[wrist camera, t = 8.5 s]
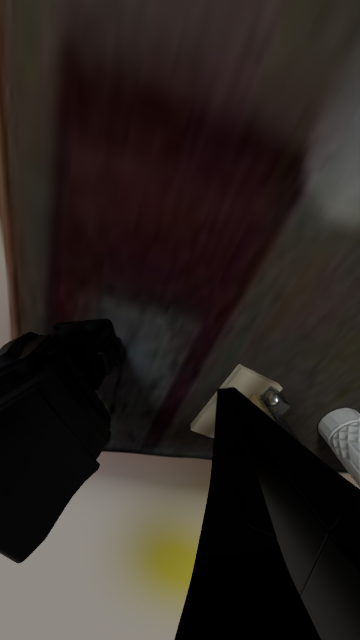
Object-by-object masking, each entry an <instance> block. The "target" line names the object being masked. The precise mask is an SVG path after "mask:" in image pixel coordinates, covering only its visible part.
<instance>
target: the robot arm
mask: <svg viewBox="0 0 360 640" xmlns="http://www.w3.org/2000/svg"><path fill="white" fill-rule="evenodd" d="M104 322H107V325H106V324H104ZM57 327H59V329H58V328H57ZM52 328H53V331H54V333H52V334H47V335H43V336H42V335H38V334H35V333H33V332H28V333H25V334H23V335H21V336H19V337H17V338H15V339H13V340H12V341H10V342H8V343H7V344H5V345H4V346H3V347H2V348H1V349H0V553H1V554H3V555H4V556H6V557H8V558H9V559H11V560H13V561H14V562H16V563H21V562H23V561H24V560H25V559H26V558H27V557H28V556H29V555H30V554H31V553H32V552H33V551H34V550H35V549H36V548H37V547H38V546H39V545H40V544H41V543H42V542H43V541H44V540H45V538H46V537H47V535H48V534H49V532H50V531H51V529H52V528H53V526H54V524H55V522H56V521H57V520H58V518H59V516H60V515H61V513H62V512H63V510H64V508H65V507H66V505H67V504H68V502H69V501H70V499H71V498H72V496H73V495H74V494H75V493H76V491H77V490H78V489H79V488H80V486H82V484H83V483H84V482H85V481H86V480H87V479H88V478H89V477H90V476H91V475H92V474H93V473H94V472H96V471H97V470H98V468H99V466H100V464H99V463H98V462H97V461H96V459H97V458H98V456H99V455H100V453H101V452H102V450H103V448H104V447H105V445H106V443H107V441H108V439H109V437H110V434H111V432H110V430H109V429H110V420H111V418H110V415H109V412H108V410H107V409H106V407H105V406H104V404H103V402H102V401H101V400H100V398H99V397H98V395H97V394H96V392H95V391H94V390H98V389H99V387H100V385H101V383H102V381H103V380H104V378H105V376H107V375H109V374H110V373H111V371H112V369H113V367H118V366H119V365H120V358H119V355H120V350H119V346H118V342H117V338H116V336H115V335H114V334H113V330H112V326H111V322H110V320H109V319H97V320H86V321H76V322H66V323H57V324H55V325H54V326H53V327H52ZM116 362H117V363H118V364H116ZM175 640H360V489H359V488H357V487H355V486H354V485H353V484H352V483H350V482H349V481H347V480H346V479H345V478H344V477H342V476H341V475H340V474H339V473H337V472H336V471H335V470H333V469H332V468H331V467H329V466H328V465H327V464H326V463H325V462H323V461H322V460H321V459H320V458H318V457H317V456H316V455H315V454H313V453H312V452H311V451H310V450H309V449H308V448H306V447H305V446H304V445H303V446H302V444H301V443H300V442H299V441H298V440H297V439H296V438H294V437H293V436H292V435H291V434H290V433H288V432H287V431H286V430H285V429H284V428H283V427H281V426H280V425H279V424H278V423H277V422H275V421H274V420H273V419H272V418H271V417H269V416H268V415H267V414H266V413H265V412H264V411H262V410H261V409H260V408H259V407H258V406H256V405H255V404H254V403H253V402H252V401H251V400H249V399H248V398H247V397H246V396H245V395H243V394H242V393H241V392H240V391H239V390H237V389H236V388H235V387H228V388H219V389H217V402H216V416H215V430H214V444H213V457H212V469H211V479H210V486H209V492H208V498H207V504H206V509H205V514H204V519H203V524H202V530H201V534H200V539H199V544H198V549H197V554H196V559H195V564H194V569H193V573H192V577H191V582H190V585H189V589H188V593H187V597H186V600H185V604H184V608H183V612H182V615H181V618H180V622H179V625H178V629H177V633H176V636H175Z"/></svg>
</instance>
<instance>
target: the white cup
mask: <svg viewBox="0 0 360 640" xmlns="http://www.w3.org/2000/svg"><path fill="white" fill-rule="evenodd" d="M318 430H319V433H320V434H321V436H322V437H323V438H324V439H325V441H326V442H327V443H328V445H329V446H330V447H331V449H332V450H333V452H334V454H335V455H336V456H337V458H338V459H339V460H340V462H341V463H342V464H343V466H344V467H345V468H346V470H347V471H348V473H349V474H350V475H351V476H352V478H353V479H354V480H355V481H356V483H357V484H358V485H359V487H360V414H359V413H358V412H357V411H356V410H354V409H350V408H341V409H336V410H334V411H332V412H330V413H328V414H327V415H326V416H324V417H323V418H322V419H321V421H320V423H319V425H318Z"/></svg>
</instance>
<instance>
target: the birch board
mask: <svg viewBox="0 0 360 640" xmlns="http://www.w3.org/2000/svg"><path fill="white" fill-rule="evenodd" d="M270 386H272V387H274V388H276V389H278V391H279V392H280V391H281V390H282V389H283V388H282V387H281V386H280V385H279V384H278V383H276V382H274V381H272V380H270V379H268V378H266V377H264V376H262V375H260V374H258V373H256V372H254V371H252V370H250V369H248V368H246V367H244V366H242V365H240V364H238V366H237V367H236V368H235V369H234V371H233V372H232V373H231V374H230V376H229V377H228V378H227V379H226V381H225V382H224V383H223V384H222V385H221V387H220V388H228V387H235V388H236V389H237V390H239V391H240V392H241V393H242V394H243V395H245V396H246V397H247V398H248V399H250V398H251V396H252V395H253V394H257V395H259V396H260V395H261V394H263V393H264V392H265V391H266V390H267V389H268V388H269V387H270ZM216 402H217V392H216V393H215V394H214V395H213V397H212V398H211V399H210V400H209V402H208V403H207V404H206V405H205V407H204V408H203V409H202V410H201V412H200V413H199V414H198V415H197V417H196V418H195V419H194V420H193V422H192V423H191V424H190V425H191V430H192V431H194V432H197V433H200V434H203V435H205V436H208V437H211V438H214V430H215V416H216Z"/></svg>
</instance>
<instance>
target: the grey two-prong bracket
mask: <svg viewBox="0 0 360 640" xmlns="http://www.w3.org/2000/svg"><path fill="white" fill-rule="evenodd" d="M260 397H261V399H262V400H263V402H264V404H265V405H266V407H267V408H268V410H269V412H270V413H271V415H272V416H273V418H274V420H275V421H276V422H277V423H278V424H279V425H280V426H281V427H283V428H284V429H285V430H286V431H287V432H288V433H290V434H291V435H292V436H293V437H294V438H296V439H297V437H296V436H295V434H294V433H293V431H292V430H291V428H290V427H289V425H288V424H287V423H286V421H285V420H284V418H283V417H282V415H283V414H284V413H285V412H286V411H287V410H288V409H289V408H290V407H291V406H290V405H289V403H288V402H287V400H286V398H285V397H284V396H282V394H281V393H280V392H279V391H278V389H276V388H274V387H272V386H270V387H269V388H268V389H267V390H266V391H265V392H264V393H263V394H261V395H260ZM297 440H298V439H297ZM298 441H299V440H298ZM299 442H300V441H299Z"/></svg>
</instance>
